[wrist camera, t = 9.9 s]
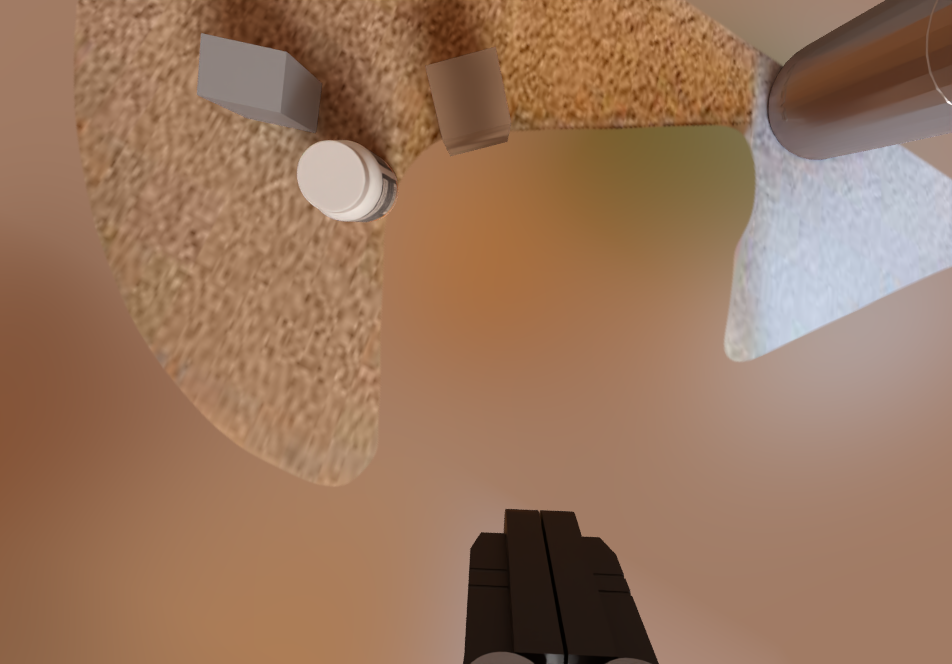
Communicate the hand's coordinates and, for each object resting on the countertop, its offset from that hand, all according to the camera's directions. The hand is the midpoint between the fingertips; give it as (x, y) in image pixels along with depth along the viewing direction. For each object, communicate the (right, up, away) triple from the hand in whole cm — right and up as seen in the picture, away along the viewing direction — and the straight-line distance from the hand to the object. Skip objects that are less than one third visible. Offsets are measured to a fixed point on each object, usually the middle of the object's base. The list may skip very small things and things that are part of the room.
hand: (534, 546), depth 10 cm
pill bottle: (-11, +17, +31) cm, 37 cm away
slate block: (-18, +24, +29) cm, 42 cm away
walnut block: (-2, +23, +29) cm, 37 cm away
